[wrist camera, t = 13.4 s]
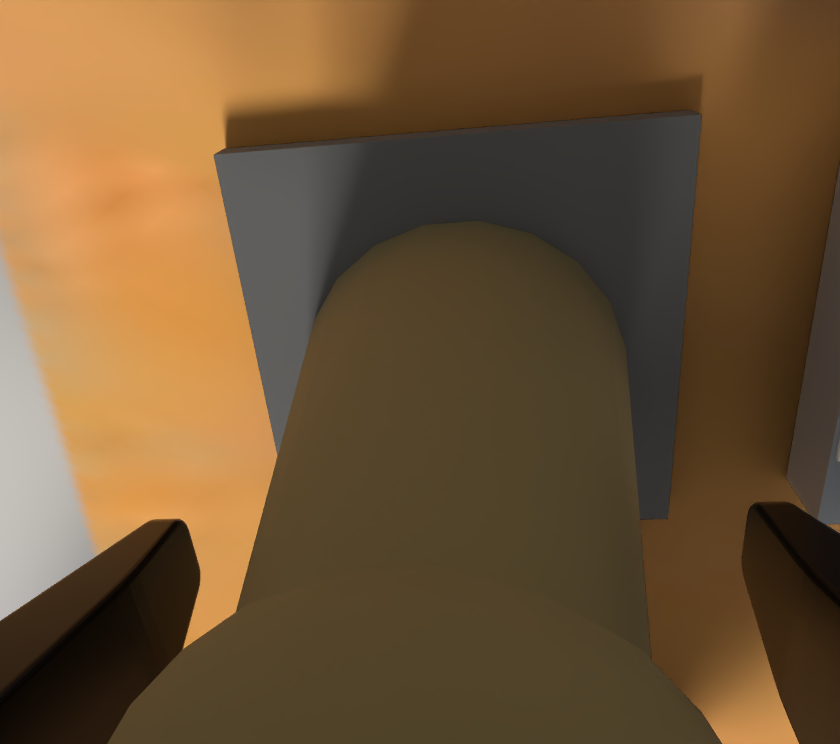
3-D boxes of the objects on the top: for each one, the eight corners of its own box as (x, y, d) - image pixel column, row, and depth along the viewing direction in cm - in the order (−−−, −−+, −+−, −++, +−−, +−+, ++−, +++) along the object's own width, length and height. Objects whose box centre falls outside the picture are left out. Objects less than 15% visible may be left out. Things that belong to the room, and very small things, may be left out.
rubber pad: (661, 501, 15) (668, 519, 15) (299, 511, 16) (293, 528, 16) (691, 110, 12) (701, 114, 11) (224, 148, 13) (213, 154, 12)
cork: (416, 551, 15) (273, 1485, 5) (244, 326, 14) (-452, 1123, 4) (681, 430, 14) (1194, 1502, 4) (525, 151, 12) (700, 782, 2)
